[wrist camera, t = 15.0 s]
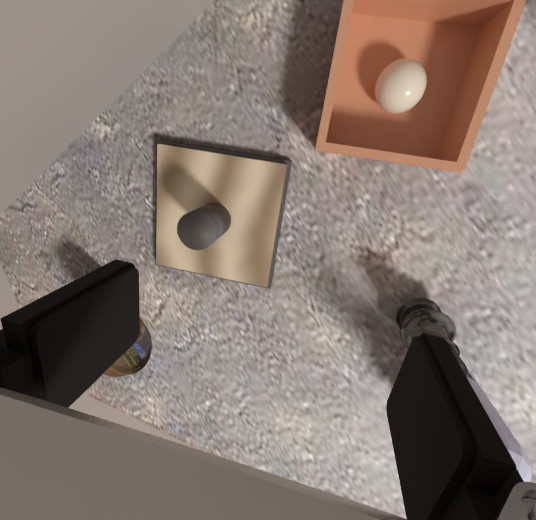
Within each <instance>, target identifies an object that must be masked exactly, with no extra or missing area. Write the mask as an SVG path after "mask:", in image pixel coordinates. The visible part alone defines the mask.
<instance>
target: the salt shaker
mask: <svg viewBox="0 0 536 520" xmlns="http://www.w3.org/2000/svg"><path fill="white" fill-rule="evenodd" d="M396 320H397V324H398V326H399V328H400V329H401V332H400V334H401V339H402V342H403V344H404V345H405V346H406V347H407V348H408V349H409V346H410V344H411V341H412V339H413V337H414V336H420V335H421V334H422V333H427V334H431V335H435V336H439V337H443V338H444V339H445V340H446V342H447V343H448V345H449V347H450V349H451V351H452V352H453V354H454V356H455V358H456V359H457V361H458V363H459V365H460V367H461V368H462V370H463V372H464V374H465V375H466V377H467V378H468V370H467V367H466V366H465V364H464V363H463V361H462V360H461V358H460V357H459V355H460V352H459V348H458V346H457V345H456V344H455V343H453V341H454V339H455V336H456V327H455V324H454V322H453V321H452V320H451V318H450V317H449V316H447V315H446V314H444V313H442V312H441V310H440V308H439V307H438V306H437V305H436V304H435V303H434V302H432V301H430V300H427V299H413V300H410V301H408V302H406V303H405V304H403V305H402V306H401V307H400V308H399V310H398V312H397V316H396Z"/></svg>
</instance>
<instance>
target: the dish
mask: <svg viewBox="0 0 536 520" xmlns="http://www.w3.org/2000/svg"><path fill="white" fill-rule="evenodd" d="M525 3H526V0H344V1H343V6H342V11H341V17H340V22H339V27H338V32H337V38H336V43H335V48H334V54H333V59H332V64H331V69H330V75H329V80H328V85H327V90H326V96H325V101H324V106H323V112H322V117H321V122H320V127H319V133H318V138H317V143H316V148H315V150H317V151H323V152H329V153H336V154H342V155H349V156H355V157H362V158H368V159H375V160H381V161H387V162H394V163H400V164H407V165H413V166H420V167H426V168H432V169H439V170H446V171H452V172H459V173H463V172H464V169H465V166H466V164H467V161H468V158H469V155H470V153H471V150H472V147H473V144H474V142H475V139H476V136H477V134H478V131H479V128H480V125H481V123H482V120H483V117H484V115H485V112H486V109H487V106H488V104H489V101H490V98H491V95H492V93H493V90H494V87H495V85H496V82H497V79H498V76H499V74H500V71H501V68H502V65H503V63H504V60H505V57H506V55H507V52H508V49H509V46H510V44H511V41H512V38H513V36H514V33H515V30H516V27H517V25H518V22H519V19H520V16H521V14H522V11H523V8H524V6H525Z"/></svg>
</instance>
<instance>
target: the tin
mask: <svg viewBox="0 0 536 520" xmlns="http://www.w3.org/2000/svg"><path fill="white" fill-rule="evenodd" d="M139 319H140V317H139ZM151 350H152V341H151V337H150V333H149V331H148V329H147V327H146V326H145V324H144V323H143V322H142V320H141V319H140V334H139V337H138V339H137V341H136V342H135V343H134V344H133V345H132V346H131V347H130V348H129V349H128V350H127V351H126V352H125V353H124V354H123V355H122V356H121V357H120V358H119V359H118V360H117V361H116V362H115V363H114V364H113V365H111V366H110V367H109V368H108V369H107V370H106V371H105V372H104V373H103V374H105V375H108V376H111V377H121V376H125V375H130V374H134V373H137V372H139V371H140V370H141V369H143V368H144V367H145V365H146V364H147V362H148V360H149V358H150V355H151Z"/></svg>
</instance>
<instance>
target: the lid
mask: <svg viewBox="0 0 536 520" xmlns="http://www.w3.org/2000/svg"><path fill="white" fill-rule="evenodd" d="M286 170H287V164H282V163H276V162H270V161H263V160H257V159H251V158H245V157H239V156H233V155H226V154H220V153H214V152H208V151H202V150H196V149H189V148H183V147H177V146H171V145H165V144H157V225H156V264H157V265H162V266H166V267H171V268H176V269H181V270H186V271H190V272H195V273H200V274H205V275H210V276H214V277H219V278H224V279H229V280H234V281H238V282H243V283H248V284H253V285H258V286H263V287H267V286H268V282H269V276H270V270H271V263H272V257H273V251H274V245H275V239H276V232H277V226H278V220H279V214H280V208H281V201H282V195H283V189H284V183H285V177H286Z"/></svg>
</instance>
